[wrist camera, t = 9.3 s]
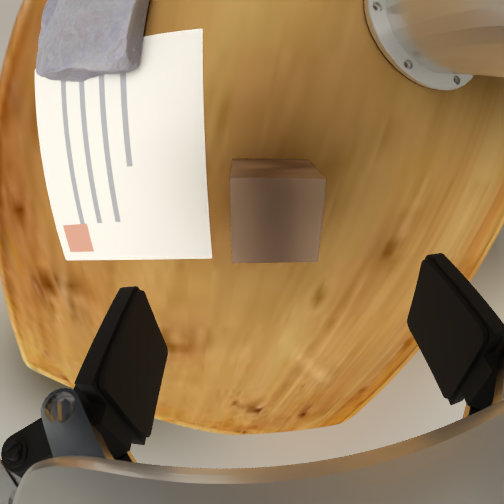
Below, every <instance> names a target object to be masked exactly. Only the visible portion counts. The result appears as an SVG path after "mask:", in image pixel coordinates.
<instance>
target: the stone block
mask: <svg viewBox="0 0 504 504" xmlns="http://www.w3.org/2000/svg"><path fill="white" fill-rule="evenodd" d="M148 5H149V0H48V1H47V3H46V5H45V8H44V11H43V15H42V24H41V26H42V29H41V32H40V35H39V43H38V48H39V51H38V53H37V61H36V72H37V74H38V75H39V76H41V77H45V78H47V79H49V80H61V81H64V80H66V81H71V82H75V81H76V82H81V81H85V80H87V79H89V78H93V77H97V76H100V75H104V74H123V73H127V72H130V71H133V70H135V69H136V68H137V67H138V64H139V61H140V55H141V47H142V40H143V33H144V27H145V21H146V16H147V9H148Z"/></svg>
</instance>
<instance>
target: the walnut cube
mask: <svg viewBox="0 0 504 504" xmlns="http://www.w3.org/2000/svg"><path fill="white" fill-rule="evenodd" d="M229 179H230V217H231V248H232V263H275V262H318V255H319V247H320V238H321V230H322V221H323V211H324V201H325V191H326V178H325V177H324V176H323V175H322V174H321V173H320V172H319V171H318V170H317V169H316V168H315V167H314V166H313V165H312V164H311V163H310V162H309V161H308V160H298V159H233V160H232V166H231V172H230V178H229Z"/></svg>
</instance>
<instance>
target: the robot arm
mask: <svg viewBox="0 0 504 504" xmlns="http://www.w3.org/2000/svg"><path fill="white" fill-rule="evenodd" d="M373 7H374V8H375V9H374V8H373ZM364 10H365V15H366V20H367V24H368V26H369V29H370V32H371V34H372V36H373V38H374V40H375V42H376V43H377V45H378V47H379V49H380V50H381V51H382V53H383V54H384V55H385V57H386V58H387V59H388V60H389V61H390V62H391V64H392V65H393V66H394V67H395V68H396V69H397V70H398V71H400V72H401V73H402V74H403V75H405V76H406V77H407V78H409V79H410V80H412V81H414V82H415V83H417V84H419V85H422V86H424V87H427V88H431V89H436V90H453V89H458V88H460V87H462V86H464V85H466V84H467V83H468V82H469V81H470V80H471V79H472V77H473V76H474V75H483V76H495V77H504V0H364ZM404 64H405V66H404ZM407 323H408V327H409V329H410V331H411V333H412V335H413V337H414V338H415V340H416V342H417V344H418V346H419V348H420V350H421V352H422V354H423V355H424V357H425V359H426V361H427V363H428V365H429V367H430V369H431V371H432V373H433V375H434V377H435V380H436V382H437V384H438V386H439V388H440V390H441V392H442V394H443V396H444V397H445V398H448V400H449V402H450V404H451V405H453V404H455V403H458V402H460V401H462V400H463V399H465V401H466V407H465V411H464V415H463V418H462V419H461V420H458V421H456V422H454V423H452V424H449V425H447V426H444V427H442V428H439V429H437V430H434V431H431V432H429V433H426V434H423V435H420V436H417V437H414V438H412V439H408V440H405V441H402V442H399V443H396V444H393V445H389V446H386V447H382V448H378V449H374V450H370V451H366V452H362V453H358V454H353V455H349V456H344V457H339V458H334V459H328V460H322V461H316V462H309V463H302V464H295V465H286V466H275V467H261V468H239V469H238V468H237V469H207V468H185V467H172V466H160V465H159V466H158V465H150V464H140V463H137V462H136V460H135V459H134V457H133V455H132V454H131V452H130V447H131V443H133V444H141V445H144V444H145V440H146V437H149V436H150V434H151V430H152V425H153V420H154V415H155V410H156V405H157V400H158V396H159V391H160V386H161V382H162V377H163V373H164V368H165V364H166V360H167V355H168V350H167V346H166V343H165V341H164V339H163V336H162V334H161V332H160V329H159V327H158V325H157V322H156V320H155V317H154V315H153V312H152V310H151V307H150V305H149V302H148V300H147V297H146V294H145V292H144V291H142V290H140V289H139V288H138V287H136V286H135V287H122V288H120V289H119V291H118V293H117V295H116V297H115V299H114V300H113V302H112V304H111V306H110V308H109V310H108V312H107V314H106V316H105V318H104V320H103V322H102V324H101V326H100V328H99V330H98V332H97V334H96V336H95V338H94V341H93V343H92V345H91V347H90V349H89V351H88V353H87V356H86V358H85V360H84V362H83V365H82V367H81V369H80V371H79V374H78V376H77V378H76V381H75V384H76V385H75V387H74V390H72V389H70V388H59V389H56V390H54V391H53V392H51V393H50V394H49V395H48V396H47V397H46V398H45V400H44V402H43V404H42V407H41V417H42V418H40V419H38V420H37V421H35V422H33V423H32V424H30V425H28V426H27V427H25V428H24V429H22V430H20V431H18V432H17V433H15V434H13V435H12V436H10V437H9V438H8V439H7V440H6V441H5V443H4V445H3V447H2V452H1V456H2V460H1V459H0V504H504V324H503V323H502V321H501V320H500V319H499V318H498V316H497V315H496V313H495V312H494V311H493V310H492V308H491V307H490V306H489V305H488V304H487V302H486V301H485V300H484V299H483V298H482V296H481V295H480V294H479V293H478V292H477V290H476V289H475V288H474V287H473V286H472V285H471V283H470V282H469V281H468V280H467V279H466V278H465V277H464V276H463V274H462V273H461V272H460V271H459V270H458V269H457V268H456V267H455V266H454V265H453V264H452V263H451V262H450V260H449V259H448V258H447V257H446V256H445V255H444V254H442V253H438V254H431V255H427V256H426V258H425V260H423V261H422V263H421V268H420V272H419V277H418V281H417V285H416V289H415V293H414V297H413V301H412V304H411V308H410V311H409V315H408V319H407Z"/></svg>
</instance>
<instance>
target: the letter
mask: <svg viewBox="0 0 504 504" xmlns="http://www.w3.org/2000/svg"><path fill="white" fill-rule="evenodd" d="M35 98H36V114H37V125H38V134H39V142H40V150H41V157H42V163H43V169H44V175H45V180H46V185H47V190H48V195H49V199H50V204H51V208H52V212H53V216H54V220H55V224H56V228H57V231H58V235H59V239H60V242H61V245H62V249H63V252H64V255H65V258H66V260H141V259H210V258H212V247H211V234H210V220H209V205H208V190H207V172H206V152H205V128H204V97H203V29H193V30H184V31H176V32H168V33H162V34H156V35H150V36H145V37H143V40H142V47H141V55H140V61H139V64H138V67H137V68H136V69H135V70H133V71H130V72H127V73H123V74H104V75H100V76H97V77H93V78H89V79H87V80H85V81H81V82H76V81H75V82H71V81H66V80H64V81H61V80H49V79H47V78H45V77H41V76H39V75H38V74H37V72H36V69H35Z"/></svg>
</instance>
